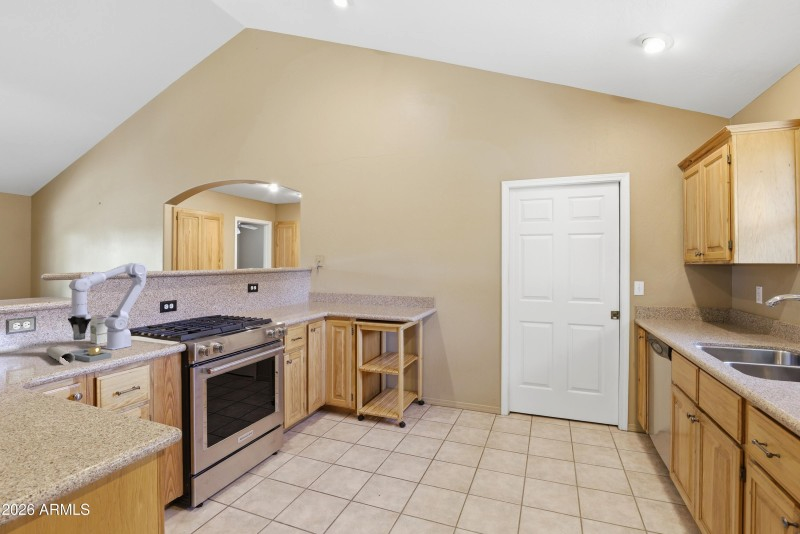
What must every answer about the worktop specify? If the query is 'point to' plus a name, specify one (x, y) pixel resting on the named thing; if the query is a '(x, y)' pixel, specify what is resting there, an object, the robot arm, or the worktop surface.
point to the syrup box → (98, 329)
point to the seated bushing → (94, 351)
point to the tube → (60, 354)
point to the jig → (84, 356)
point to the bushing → (77, 333)
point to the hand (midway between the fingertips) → (79, 332)
